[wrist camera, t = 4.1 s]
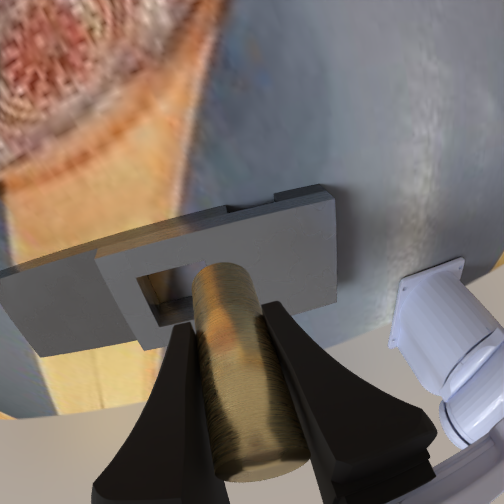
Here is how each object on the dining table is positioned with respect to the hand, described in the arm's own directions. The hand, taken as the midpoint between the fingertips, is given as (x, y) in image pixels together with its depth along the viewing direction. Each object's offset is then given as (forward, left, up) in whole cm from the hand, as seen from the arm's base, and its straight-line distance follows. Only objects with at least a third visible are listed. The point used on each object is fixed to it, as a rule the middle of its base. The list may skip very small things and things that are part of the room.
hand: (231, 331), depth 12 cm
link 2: (-3, 0, -9) cm, 10 cm away
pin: (0, 0, -2) cm, 3 cm away
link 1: (-3, +8, -9) cm, 13 cm away
